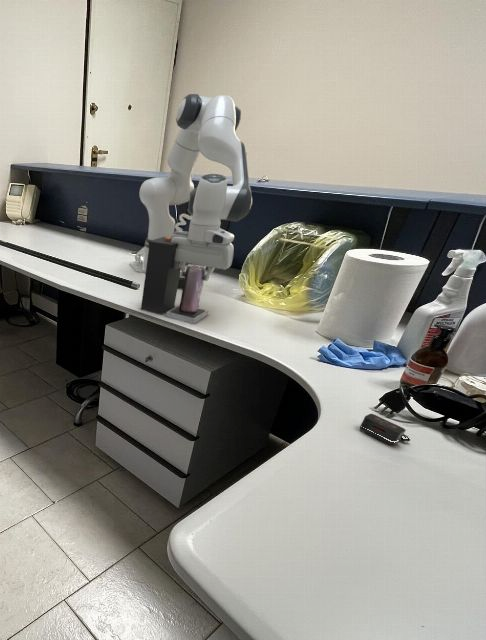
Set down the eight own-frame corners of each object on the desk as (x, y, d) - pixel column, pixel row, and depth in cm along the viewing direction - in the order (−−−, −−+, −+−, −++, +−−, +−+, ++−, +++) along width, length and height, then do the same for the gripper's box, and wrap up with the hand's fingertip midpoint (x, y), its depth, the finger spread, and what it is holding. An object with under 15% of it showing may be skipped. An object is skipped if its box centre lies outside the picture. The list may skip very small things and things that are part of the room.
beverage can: (187, 306, 141) (196, 263, 134) (201, 312, 137) (210, 267, 129) (175, 309, 139) (183, 265, 131) (188, 314, 134) (197, 269, 127)
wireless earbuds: (396, 449, 77) (404, 436, 76) (357, 429, 83) (363, 416, 81) (409, 442, 79) (417, 429, 78) (370, 423, 85) (376, 410, 83)
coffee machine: (139, 309, 143) (148, 238, 131) (154, 301, 151) (164, 234, 139) (194, 323, 132) (209, 247, 120) (207, 314, 139) (223, 242, 127)
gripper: (167, 230, 129) (160, 274, 136) (232, 239, 118) (221, 286, 125) (176, 228, 133) (169, 270, 140) (239, 236, 122) (228, 282, 129)
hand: (194, 278), depth 132 cm, fingers closed on beverage can, 6 cm apart
